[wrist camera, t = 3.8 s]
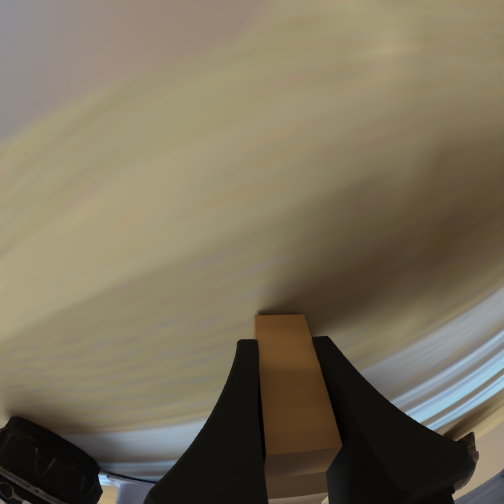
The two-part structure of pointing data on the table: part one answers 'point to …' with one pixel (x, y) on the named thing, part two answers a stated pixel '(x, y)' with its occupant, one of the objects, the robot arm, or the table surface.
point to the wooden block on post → (293, 412)
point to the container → (44, 467)
